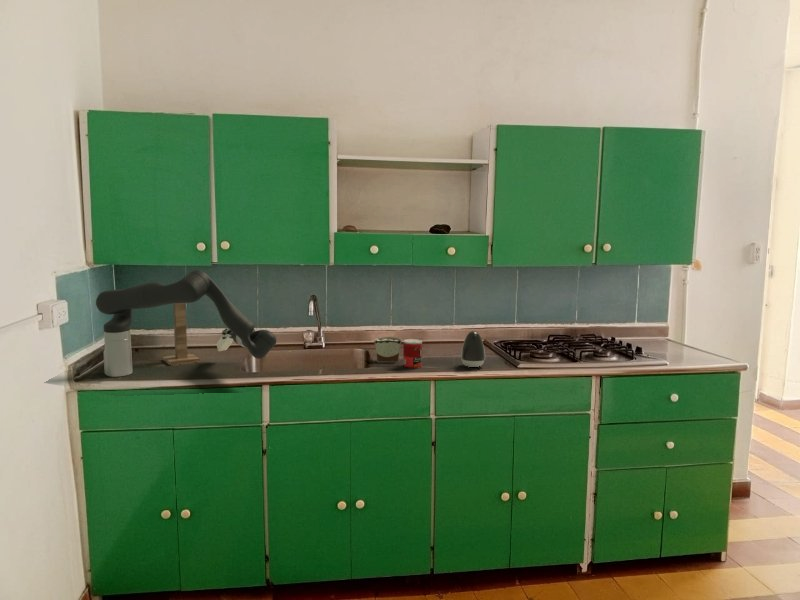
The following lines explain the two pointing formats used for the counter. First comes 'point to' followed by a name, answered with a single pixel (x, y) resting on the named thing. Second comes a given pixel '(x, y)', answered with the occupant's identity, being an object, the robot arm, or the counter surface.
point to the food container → (387, 349)
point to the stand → (180, 338)
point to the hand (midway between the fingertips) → (230, 330)
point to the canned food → (412, 353)
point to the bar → (224, 343)
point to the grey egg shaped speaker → (473, 350)
